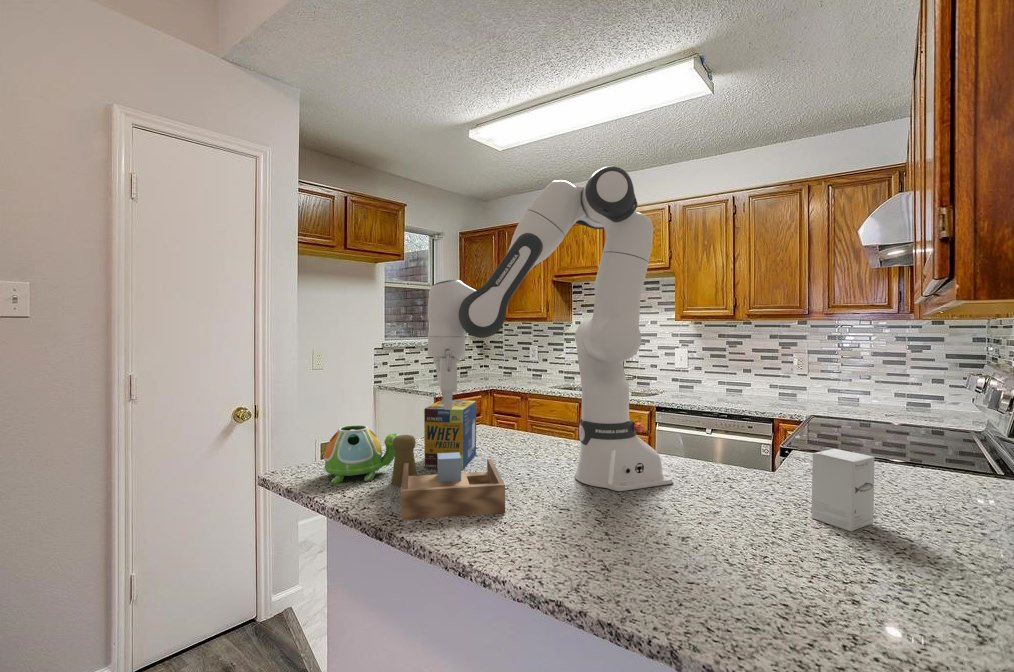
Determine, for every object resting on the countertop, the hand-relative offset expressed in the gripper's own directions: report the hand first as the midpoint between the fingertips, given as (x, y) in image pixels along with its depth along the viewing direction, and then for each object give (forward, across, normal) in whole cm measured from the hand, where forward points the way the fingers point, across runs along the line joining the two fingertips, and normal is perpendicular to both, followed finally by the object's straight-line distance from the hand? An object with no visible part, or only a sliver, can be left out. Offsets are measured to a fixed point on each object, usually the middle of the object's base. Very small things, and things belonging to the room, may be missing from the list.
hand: (446, 406), depth 117 cm
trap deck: (+17, -14, 0) cm, 22 cm away
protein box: (+18, +15, -2) cm, 23 cm away
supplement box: (+17, -39, -71) cm, 83 cm away
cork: (+18, -1, +10) cm, 20 cm away
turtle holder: (+18, +7, +21) cm, 28 cm away
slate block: (+15, -7, 0) cm, 17 cm away
